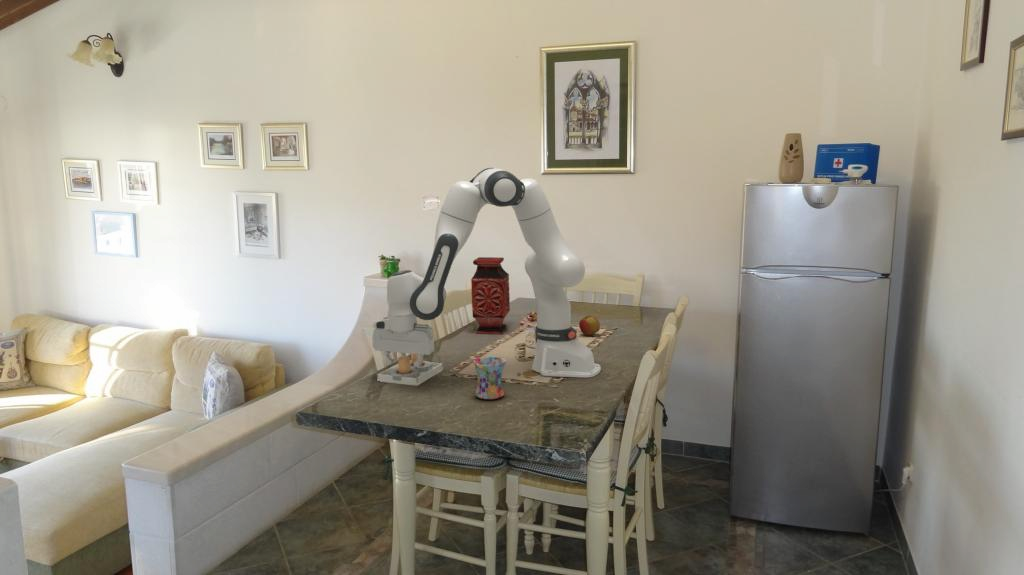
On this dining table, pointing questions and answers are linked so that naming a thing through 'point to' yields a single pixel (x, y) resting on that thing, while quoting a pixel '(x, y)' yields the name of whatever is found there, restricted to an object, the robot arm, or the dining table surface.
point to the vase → (490, 295)
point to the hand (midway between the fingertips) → (404, 366)
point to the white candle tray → (415, 376)
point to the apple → (589, 325)
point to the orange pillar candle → (404, 365)
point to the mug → (489, 377)
